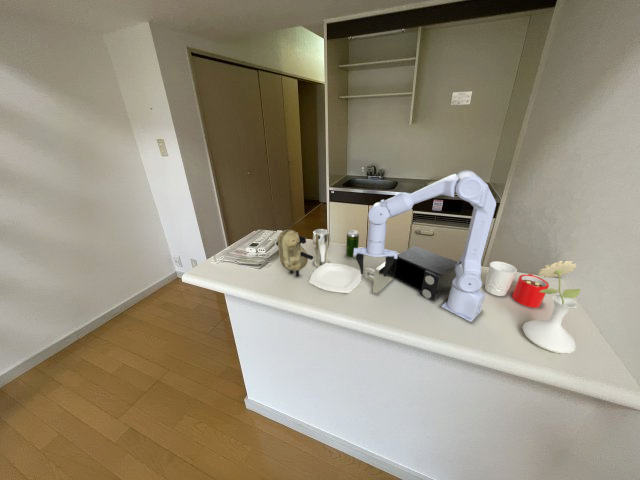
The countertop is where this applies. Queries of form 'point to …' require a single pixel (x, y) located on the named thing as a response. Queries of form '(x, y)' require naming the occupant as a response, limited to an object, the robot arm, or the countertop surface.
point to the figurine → (292, 251)
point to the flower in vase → (554, 314)
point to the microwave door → (380, 276)
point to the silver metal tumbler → (320, 246)
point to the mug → (529, 290)
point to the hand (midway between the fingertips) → (373, 274)
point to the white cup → (499, 278)
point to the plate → (336, 277)
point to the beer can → (352, 243)
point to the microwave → (425, 271)
